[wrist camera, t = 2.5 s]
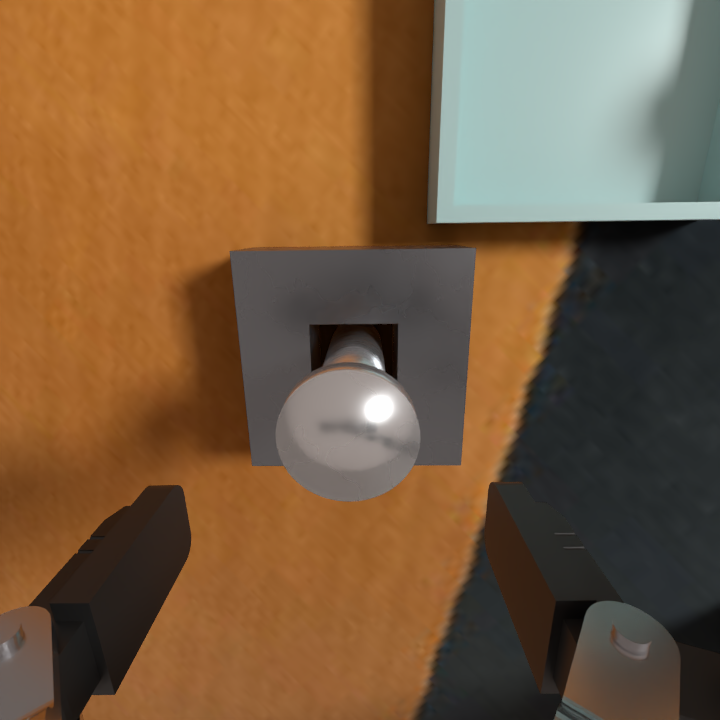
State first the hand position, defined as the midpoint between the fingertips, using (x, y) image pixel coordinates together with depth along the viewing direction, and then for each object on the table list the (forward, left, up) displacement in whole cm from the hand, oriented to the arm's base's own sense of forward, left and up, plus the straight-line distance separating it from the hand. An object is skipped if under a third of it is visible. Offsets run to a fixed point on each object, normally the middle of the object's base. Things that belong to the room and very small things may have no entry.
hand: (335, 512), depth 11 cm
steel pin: (0, 0, -16) cm, 16 cm away
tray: (-12, -15, -16) cm, 25 cm away
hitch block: (0, 0, -16) cm, 16 cm away
